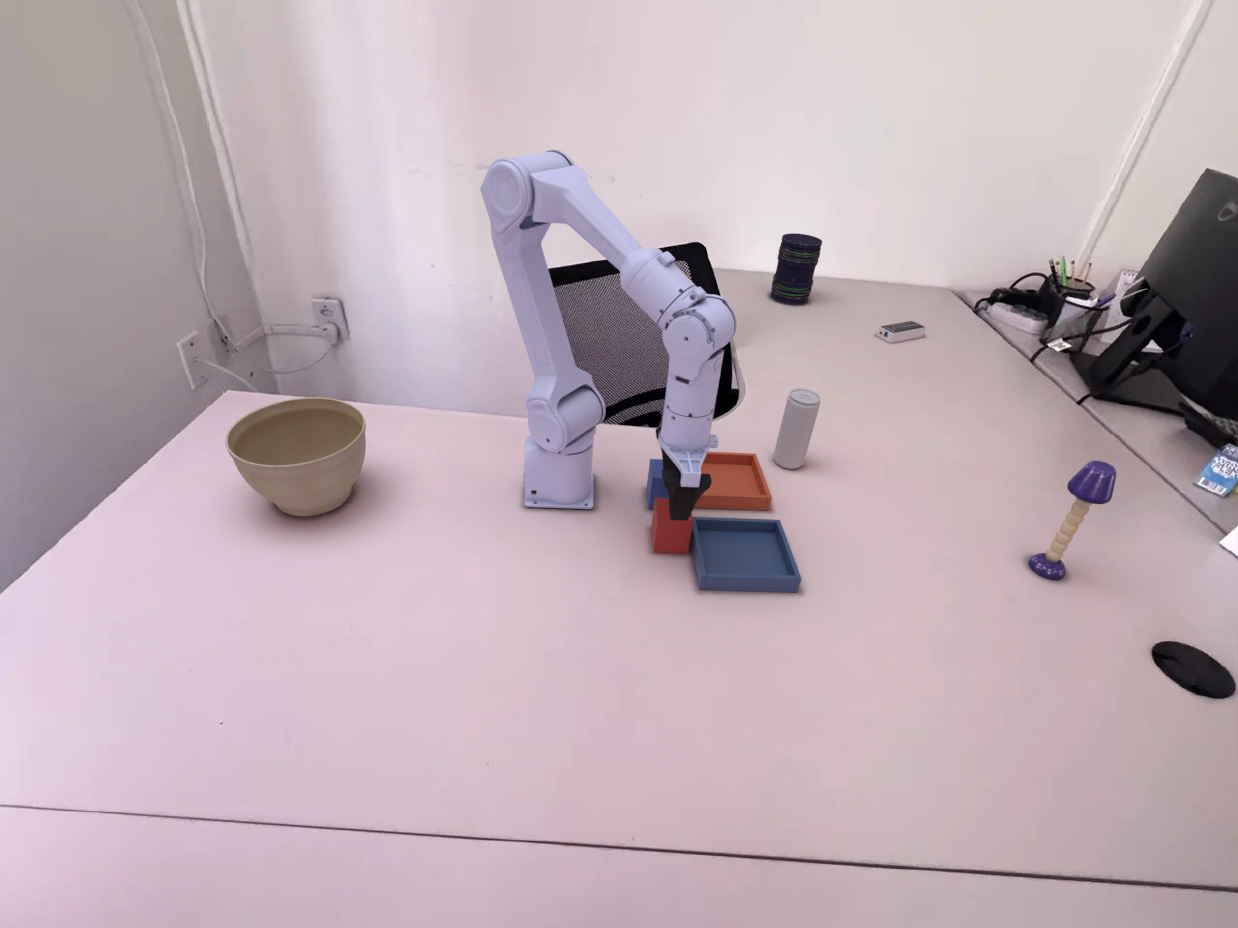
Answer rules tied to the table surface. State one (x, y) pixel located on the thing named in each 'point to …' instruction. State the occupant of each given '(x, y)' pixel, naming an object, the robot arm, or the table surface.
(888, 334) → the multiport hub
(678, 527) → the red block
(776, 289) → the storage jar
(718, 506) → the orange tray
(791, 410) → the beverage can
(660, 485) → the blue block
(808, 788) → the table surface
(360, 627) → the table surface
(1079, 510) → the toy lamp
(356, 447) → the planter bowl
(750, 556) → the blue tray
